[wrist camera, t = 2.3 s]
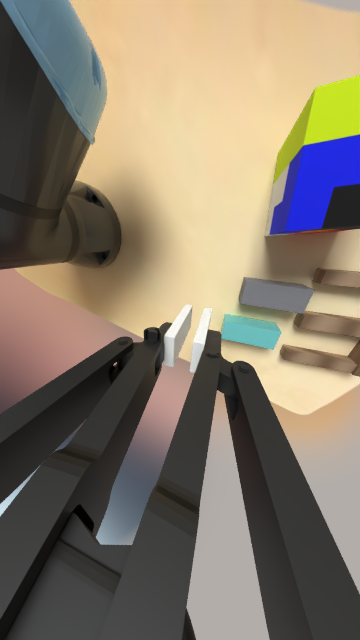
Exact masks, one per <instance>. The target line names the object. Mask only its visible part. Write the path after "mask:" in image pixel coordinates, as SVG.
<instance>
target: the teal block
mask: <svg viewBox="0 0 360 640" xmlns="http://www.w3.org/2000/svg"><path fill="white" fill-rule="evenodd" d="M280 334H281V331H280V329H279V328H278V326H277V324H276V323H273V322H268V321H262V320H257V319H251V318H245V317H240V316H234V315H229V314H225V317H224V321H223V325H222V329H221V335H222V337H221V339H226V340H230V341H235V342H240V343H245V344H249V345H254V346H259V347H263V348H268V349H274V347H275V345H276V343H277V341H278V338H279V336H280Z"/></svg>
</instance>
